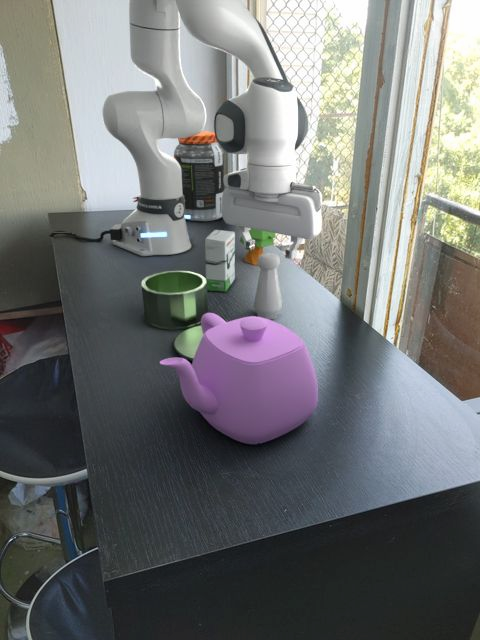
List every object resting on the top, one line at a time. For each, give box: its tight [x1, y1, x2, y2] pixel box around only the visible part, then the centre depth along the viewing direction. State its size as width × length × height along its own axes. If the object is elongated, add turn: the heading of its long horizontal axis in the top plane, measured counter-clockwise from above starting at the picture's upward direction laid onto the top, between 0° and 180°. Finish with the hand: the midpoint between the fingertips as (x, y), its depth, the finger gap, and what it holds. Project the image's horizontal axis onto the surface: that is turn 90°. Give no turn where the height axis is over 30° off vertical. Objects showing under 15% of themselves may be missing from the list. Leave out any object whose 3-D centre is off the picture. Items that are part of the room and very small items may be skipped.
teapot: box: [159, 312, 319, 445], centre depth 74 cm, size 23×21×15 cm
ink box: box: [204, 229, 236, 293], centre depth 119 cm, size 9×5×12 cm, turn 168°
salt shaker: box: [253, 252, 283, 320], centre depth 104 cm, size 6×6×13 cm
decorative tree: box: [239, 228, 277, 266], centre depth 129 cm, size 10×9×30 cm
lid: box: [174, 325, 203, 362], centre depth 94 cm, size 14×14×5 cm
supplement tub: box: [173, 130, 226, 222], centre depth 168 cm, size 16×16×26 cm
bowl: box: [141, 270, 209, 331], centre depth 105 cm, size 13×13×8 cm
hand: (269, 253), depth 101 cm, fingers open, 8 cm apart
